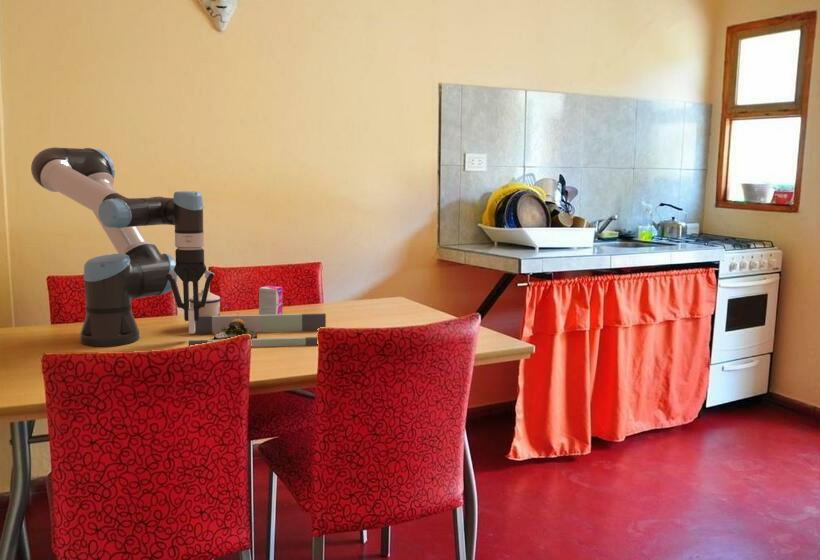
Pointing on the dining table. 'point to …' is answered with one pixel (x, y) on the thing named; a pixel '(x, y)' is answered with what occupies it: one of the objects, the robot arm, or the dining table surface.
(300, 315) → the trap lane
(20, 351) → the dining table surface
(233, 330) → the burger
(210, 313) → the teacup with lid
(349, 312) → the dining table surface
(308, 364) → the dining table surface
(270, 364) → the dining table surface
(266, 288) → the supplement box
